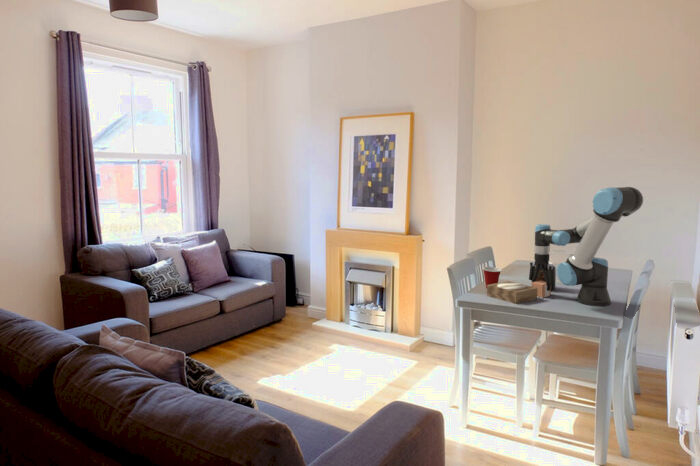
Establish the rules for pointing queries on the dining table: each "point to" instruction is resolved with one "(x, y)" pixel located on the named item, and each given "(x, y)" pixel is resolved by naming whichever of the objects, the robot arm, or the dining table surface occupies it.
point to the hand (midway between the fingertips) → (540, 294)
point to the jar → (542, 278)
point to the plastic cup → (491, 275)
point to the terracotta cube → (540, 288)
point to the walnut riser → (512, 292)
